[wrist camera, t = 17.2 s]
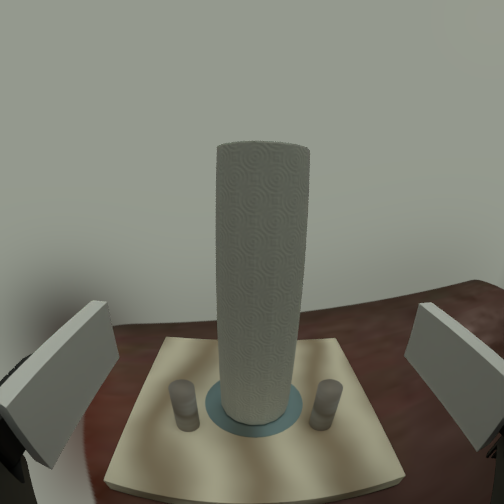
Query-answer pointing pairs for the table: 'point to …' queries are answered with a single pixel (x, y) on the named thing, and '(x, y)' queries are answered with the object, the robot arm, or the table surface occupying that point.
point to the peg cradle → (251, 435)
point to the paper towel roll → (259, 273)
